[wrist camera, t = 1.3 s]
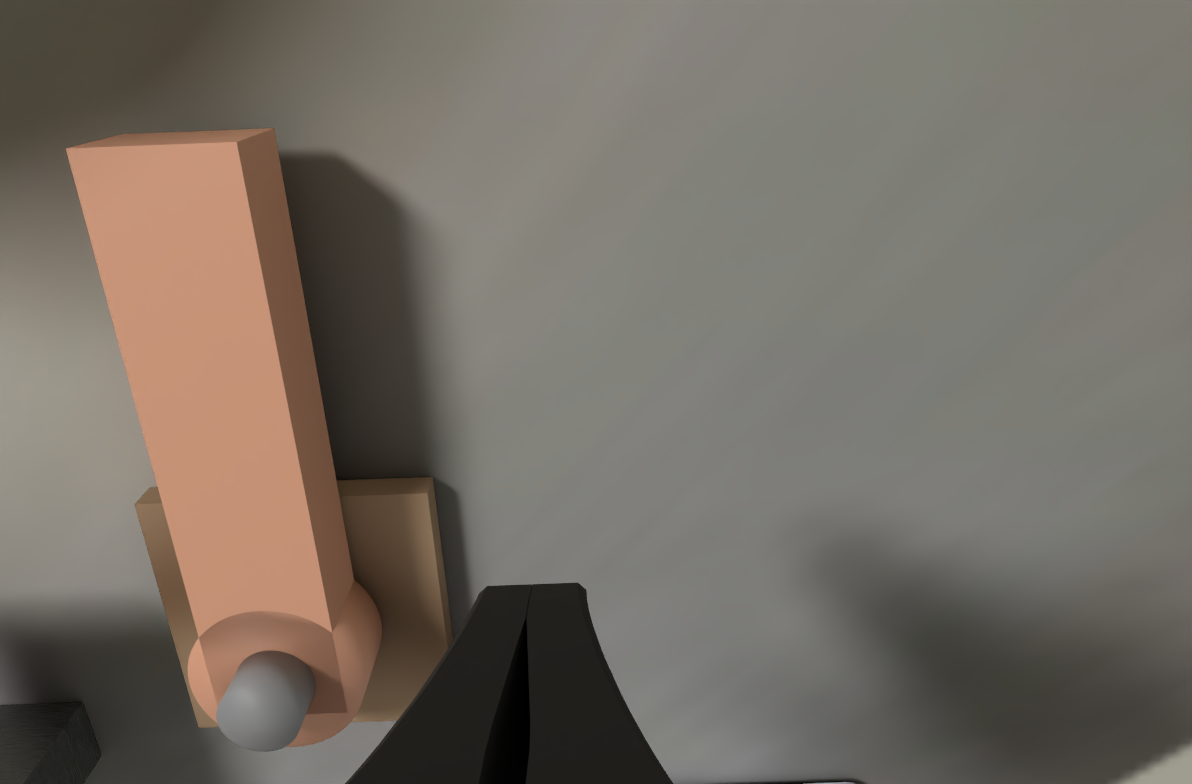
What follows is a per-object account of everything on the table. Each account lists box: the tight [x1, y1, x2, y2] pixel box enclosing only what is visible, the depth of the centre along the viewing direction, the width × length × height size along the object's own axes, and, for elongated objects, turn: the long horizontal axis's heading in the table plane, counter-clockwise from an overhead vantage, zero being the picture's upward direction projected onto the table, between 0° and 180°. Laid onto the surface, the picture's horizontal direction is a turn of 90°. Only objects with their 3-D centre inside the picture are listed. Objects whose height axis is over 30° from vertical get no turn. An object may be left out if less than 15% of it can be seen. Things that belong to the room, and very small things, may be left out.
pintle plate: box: [135, 477, 453, 728], centre depth 22 cm, size 7×7×1 cm
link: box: [66, 128, 382, 752], centre depth 18 cm, size 14×4×3 cm, turn 2°
